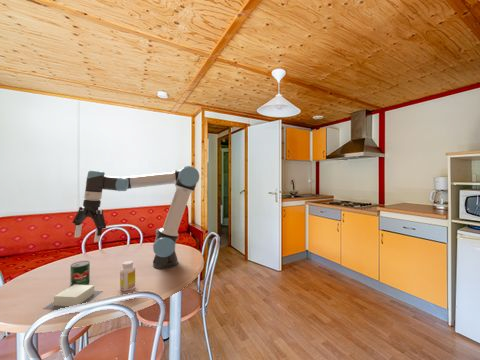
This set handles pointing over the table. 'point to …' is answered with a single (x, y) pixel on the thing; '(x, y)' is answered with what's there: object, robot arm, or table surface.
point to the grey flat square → (68, 306)
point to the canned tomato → (80, 273)
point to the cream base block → (74, 295)
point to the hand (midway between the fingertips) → (86, 239)
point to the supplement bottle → (127, 276)
